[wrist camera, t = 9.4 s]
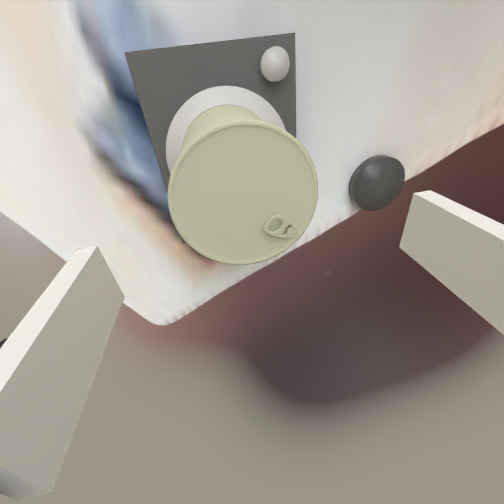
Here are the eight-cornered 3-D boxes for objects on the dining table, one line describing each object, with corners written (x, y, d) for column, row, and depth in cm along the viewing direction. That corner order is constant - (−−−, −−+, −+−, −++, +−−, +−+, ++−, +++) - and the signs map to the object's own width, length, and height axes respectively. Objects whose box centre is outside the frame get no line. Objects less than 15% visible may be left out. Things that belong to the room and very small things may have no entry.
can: (243, 218, 28) (263, 288, 19) (164, 174, 25) (137, 233, 15) (294, 144, 25) (353, 182, 15) (212, 80, 21) (220, 74, 11)
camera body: (135, 57, 23) (120, 51, 19) (282, 40, 24) (298, 30, 20) (184, 227, 33) (182, 247, 29) (287, 210, 34) (299, 227, 30)
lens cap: (340, 178, 33) (346, 182, 32) (387, 143, 32) (395, 145, 31) (360, 216, 37) (366, 220, 36) (403, 185, 36) (410, 188, 34)
